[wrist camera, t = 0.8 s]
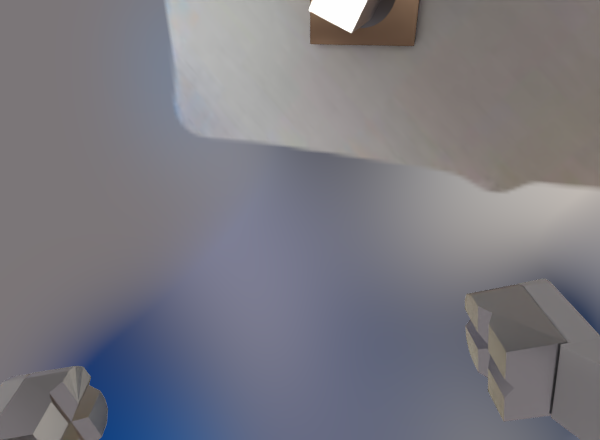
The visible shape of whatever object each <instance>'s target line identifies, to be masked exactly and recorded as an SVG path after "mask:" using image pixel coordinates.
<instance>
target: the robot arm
mask: <svg viewBox="0 0 600 440" xmlns="http://www.w3.org/2000/svg"><path fill="white" fill-rule="evenodd" d="M465 310H466V312H467V314H468V315H469V317H470V320H469V322H468V323H467V324H466V326H465V327H466V339H467V344H468V348H469V352H470V355H471V357H472V360H473V362H474V364H475V366H476V368H477V370H478V372H479V373H481V374H482V375H484V376H485V377H487V378H488V392H489V394H490V396H491V398H492V400H493V402H494V404H495V405H496V408H497V410H498V411H499V413H500V415H501V417H502V419H503V421H504V422H505V421H512V420H520V419H527V418H534V417H542V416H550V415H552V417H551V418H552V419H554V420H555V421H557V422H558V423H559V424H560V425H562V426H563V427H564V428H566V429H567V430H568V431H570V432H571V433H573V434H574V435H576V437H578V438H579V439H580V440H600V335H599V334H598V333H597V332H596V331H595V330H594V329H593V328H592V327H591V325H590V324H589V323H588V322H587V321H586V320H585V319H584V318H583V317H582V316H581V315H580V314H579V312H578V311H577V310H576V309H575V308H574V307H573V306H572V305H571V304H570V303H569V302H568V301H567V300H566V299H565V298H564V297H563V295H562V294H561V293H560V292H559V291H558V290H557V289H556V288H555V287H554V286H553V285H552V283H551V282H550V281H548V280H546V279H539V280H534V281H529V282H524V283H519V284H517V285H510V286H505V287H500V288H495V289H490V290H485V291H479V292H474V293H469V294H466V298H465ZM90 378H91V377H90V375H89V374H88V373H87V371H86V370H85V368H84V367H79V366H73V367H67V368H60V369H54V370H48V371H41V372H35V373H32V374H26V375H19V376H12V377H10V378H9V379H7V380H5V381H3V382H2V384H1V385H0V440H99V439H100V438H101V437H102V434H103V432H104V429H105V427H106V424H107V412H108V408H107V404H106V400H105V398H104V397H103V395H102V393H101V392H100V391H99V390H97V389H95V388H93V387H91V386H89V382H90Z"/></svg>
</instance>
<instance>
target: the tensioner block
mask: <svg viewBox="0 0 600 440" xmlns="http://www.w3.org/2000/svg"><path fill="white" fill-rule="evenodd" d="M311 3H312V0H310V5H311ZM418 7H419V0H380V1H379V4H378V6H377V8H376V10H375V12H374V14H373V16H372V18H371V20H369V21H368V22H367V23H365V24H364V25H362V26H361V27H360V28H358V29H357V30H355V31H354V32H353V33H350V32H348V31H346V30H344V29H342V28H341V27H339V26H337V25H335V24H333V23H331V22H329V21H327V20H326V19H324V18H322V17H320V16H318V15H316V14H314V13H312V12H311V11H310V44H333V45H390V46H414V42H415V34H416V25H417V16H418Z"/></svg>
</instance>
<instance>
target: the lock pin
mask: <svg viewBox="0 0 600 440" xmlns="http://www.w3.org/2000/svg"><path fill="white" fill-rule="evenodd" d="M379 1H380V0H312V3H311V5H310V8H309V11H311V12H312V13H314V14H316V15H318V16H320V17H322V18H324V19H326V20H327V21H329V22H331V23H333V24H335V25H337V26H339V27H341V28H342V29H344V30H346V31H348V32H350V33H353V32H354V31H355V30H357V29H358V28H360V27H361V26H362V25H364V24H365V23H367V22H368V21H369V20H371V18H372V16H373V14H374V12H375V10H376V8H377V6H378V4H379Z"/></svg>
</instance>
